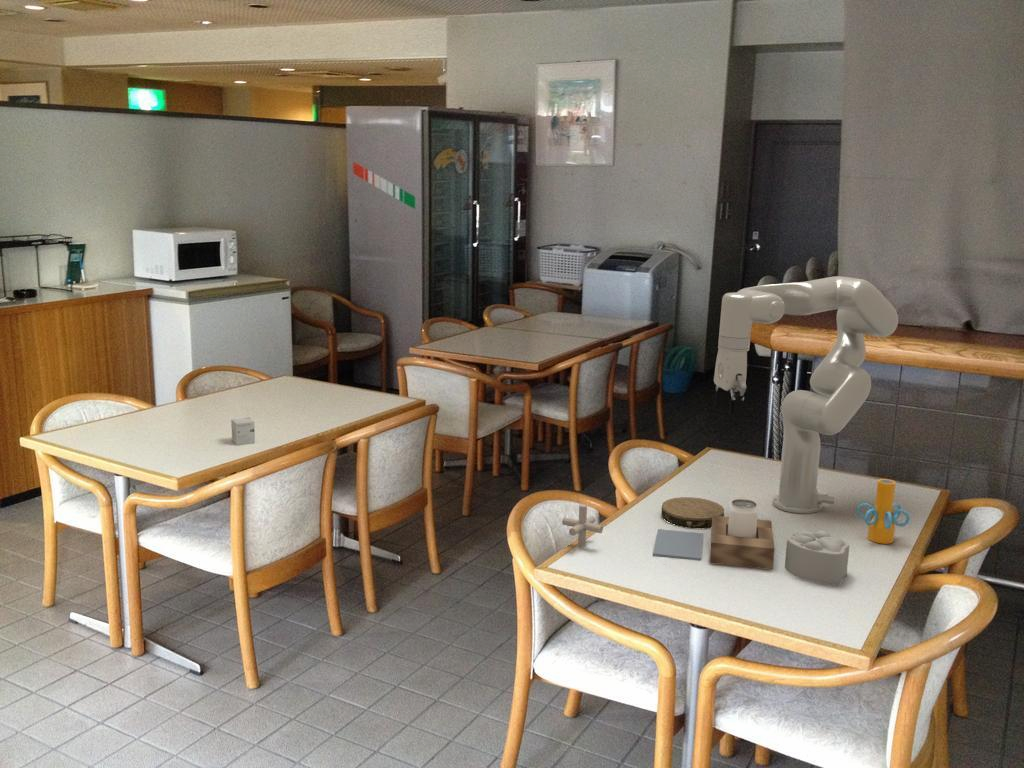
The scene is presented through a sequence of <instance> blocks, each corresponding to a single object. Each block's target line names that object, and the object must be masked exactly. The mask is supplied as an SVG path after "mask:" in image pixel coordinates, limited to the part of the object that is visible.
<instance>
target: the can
mask: <svg viewBox="0 0 1024 768" xmlns="http://www.w3.org/2000/svg"><path fill="white" fill-rule="evenodd" d="M758 511H759V510H758V508H757V503H756V502H755V501H754V500H751V499H746V498H745V499H744V498H743V499H742V498H737V499H734V500H732V501H731V505H730V506H729V511H728V512H729V513H728V517H729V523H728V536H737V537H748V538H756V530H757V519H758V515H759V514H758Z"/></svg>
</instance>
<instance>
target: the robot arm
mask: <svg viewBox="0 0 1024 768" xmlns="http://www.w3.org/2000/svg"><path fill="white" fill-rule="evenodd" d="M833 310H837V311H836V328H837V335H836V341H835V342H834V345H833V347H832V348H831V349H830V351H829V352H828V353H827V354H826V355H825V357H824V358H823V359H822V360H821V361H820V363H819V364H818V366H816V368H815V369H814V371H812V374H811V376H810V379H809V384H810V387H811V389H812V390H813V391H814V392H813V391H810V390H803V389H798V390H793V391H791V392H789V393H788V394H787V395H786V396H785V397H784V399H783V402H782V404H781V417H782V425H783V438H782V439H783V442H782V452H781V454H782V455H781V462H780V463H781V465H780V478H779V490H778V491H779V492H778V495H775V496H774V497H772V500H771V501H772V502H771V503H772V506H774V507H775V508H777V509H778V510H780V511H781V510H782V511H785V512H788V513H796V514H813V513H817V512H819V511H820V510H821V509H822V503H824V504H831V505H833V504H834V503H835V496H830V495H829V494H828V493H820V492H818V488H817V487H818V476H819V464H820V456H821V455H820V454H821V438H820V434H821V435H826V436H833V435H836V434H838V433H839V432H841V431H842V430H843V429H844V428H845V427H846V425H847V424H848V423H849V422H850V421H851V419H853V417H854V416H855V415H856V413H857V412H858V411H859V409H860V408H861V407H862V405H863V404H864V403H865V402H866V400H867V398H868V397H869V395H870V392H871V389H872V379H871V376H870V374H869V373H868V372H867V371H866V369H863V368H861V367H860V366H861V365H862V364H863V362H864V360H865V359H866V354H867V351H866V344H865V337H864V335H866V336H872V337H875V338H876V337H877V338H885V337H886V338H887V337H889V336H891V335H892V334H893V333H895V331H896V330H897V328H898V325H899V315H898V313H897V310H896V308H895V307H894V306H893V304H892V303H891V302H890V301H889V300H888V299H887V298H886V297H885V296H884V295H883V293H882V292H881V291H880V290H879V289H877V287H876V286H875V285H874V284H872V283H871V282H869V281H868V280H866V279H862V278H856V277H849V276H842V275H839V276H838V275H836V276H829V277H824V278H823V277H822V278H817V279H812V280H807V281H806V280H805V281H800V282H799V281H798V282H787V283H786V282H785V283H776V284H775V283H774V284H762V285H755V286H751V287H750V286H749V287H744V288H742V289H739V290H737V292H726V293H724V295H722V298H721V311H720V321H719V333H718V334H719V335H718V344H717V345H718V346H717V348H718V350H717V355H716V360H715V367H714V374H713V382H714V385H716V386H715V396H714V397H715V398H714V399H715V400H714V406H715V407H720V408H721V407H724V408H725V407H728V403H729V407H728V416H730V417H742V416H743V408H744V400H745V395H746V391H747V384H746V382H747V369H748V352H749V351H750V346H751V334H752V324H753V323H760V324H767V325H768V324H774V323H777V322H778V321H780V320H781V319H782V318H783V316H784V315H790V316H791V315H792V316H809V315H813V314H818V313H823V312H828V311H833ZM729 393H730V396H731V399H729Z"/></svg>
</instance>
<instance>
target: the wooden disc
mask: <svg viewBox="0 0 1024 768" xmlns="http://www.w3.org/2000/svg"><path fill="white" fill-rule="evenodd" d="M660 514H661V515H662V516H661V515H660V516H661V518H662V517H663V518H662V520H664V519H665V520H666V521H665V520H664V521H665V522H667V521H668V522H670V523H669V524H671V523H672V524H671V525H673V524H675V525H674V526H676V525H678V526H677V527H680V526H682V527H681V528H685V527H687V528H686V529H693V528H701V529H702V528H705V529H712V528H711V527H712V515H714V516H725V509H724V507H723V506H722V504H719V503H717V502H716V501H713V500H710V499H706V498H705V499H704V498H700V497H691V496H688V497H687V496H686V497H683V496H681V497H674V498H670V499H667V500H665V501H663V502H662V504H661V513H660ZM668 522H667V523H668ZM702 530H703V529H702Z"/></svg>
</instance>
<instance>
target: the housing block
mask: <svg viewBox="0 0 1024 768" xmlns="http://www.w3.org/2000/svg"><path fill="white" fill-rule="evenodd" d="M728 523H729V516H725V515H724V516H714V515H712V528H711V530H710V531H711V532H710V547H709V548H710V550H709V564H715V565H717V564H718V565H724V566H725V565H727V566H737V567H747V568H757V569H766V570H774V558H775V542H774V541H775V540H774V534H773V526H772V525H773V523H772V520H768V519H758V518H757V530H756V538H748V537H737V536H728Z"/></svg>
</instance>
